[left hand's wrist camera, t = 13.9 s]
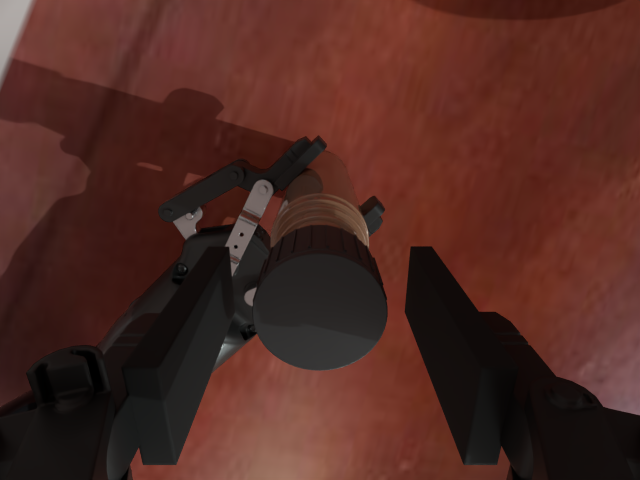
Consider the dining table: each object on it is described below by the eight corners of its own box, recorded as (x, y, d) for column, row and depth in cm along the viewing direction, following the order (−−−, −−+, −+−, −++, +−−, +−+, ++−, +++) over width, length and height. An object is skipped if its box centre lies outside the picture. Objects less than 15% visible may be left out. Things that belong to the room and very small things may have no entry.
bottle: (282, 194, 31) (229, 338, 13) (304, 140, 30) (280, 218, 11) (334, 216, 32) (353, 382, 14) (358, 165, 30) (416, 274, 12)
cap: (359, 335, 15) (366, 383, 13) (252, 313, 15) (239, 357, 13) (392, 238, 14) (408, 270, 11) (275, 210, 14) (265, 237, 11)
